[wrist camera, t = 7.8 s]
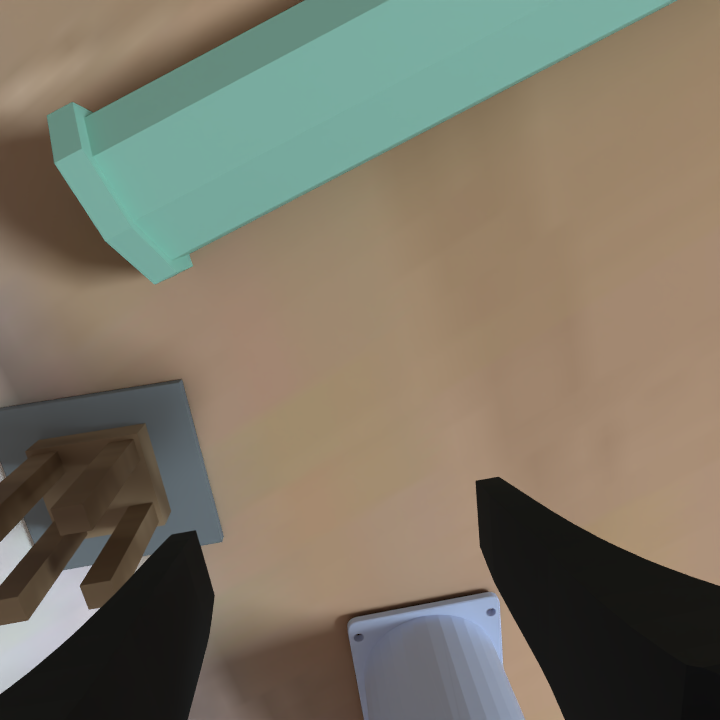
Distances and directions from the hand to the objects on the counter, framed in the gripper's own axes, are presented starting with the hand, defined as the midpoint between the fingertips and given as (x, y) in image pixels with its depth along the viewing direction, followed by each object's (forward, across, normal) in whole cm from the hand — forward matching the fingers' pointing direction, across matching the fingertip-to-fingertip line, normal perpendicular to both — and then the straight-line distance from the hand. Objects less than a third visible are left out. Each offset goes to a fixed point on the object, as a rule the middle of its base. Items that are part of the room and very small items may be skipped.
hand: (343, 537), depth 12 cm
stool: (+9, +10, +2) cm, 14 cm away
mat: (+9, +10, +2) cm, 14 cm away
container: (+10, -6, -13) cm, 17 cm away
